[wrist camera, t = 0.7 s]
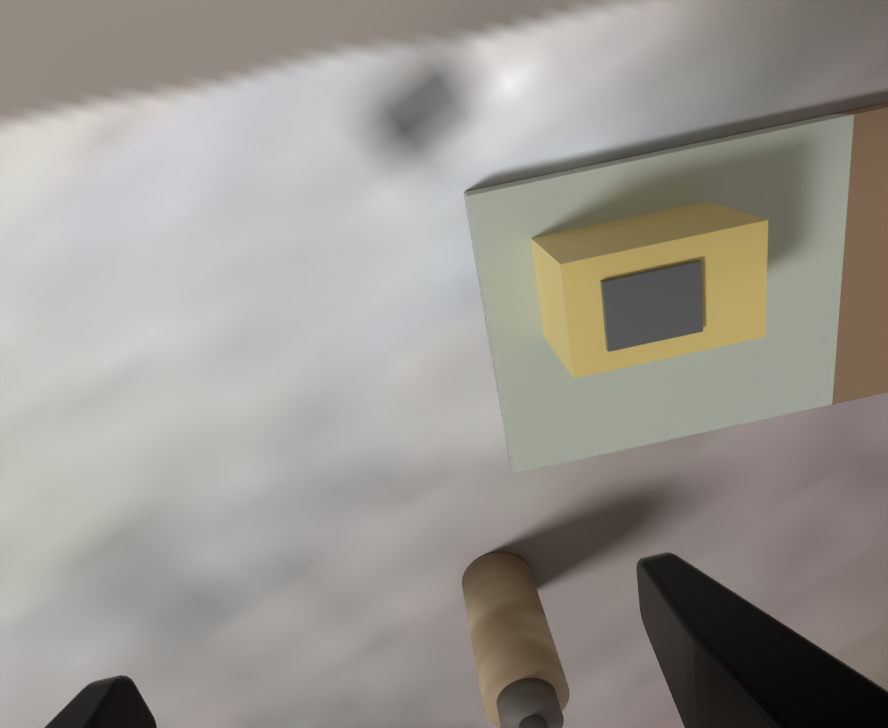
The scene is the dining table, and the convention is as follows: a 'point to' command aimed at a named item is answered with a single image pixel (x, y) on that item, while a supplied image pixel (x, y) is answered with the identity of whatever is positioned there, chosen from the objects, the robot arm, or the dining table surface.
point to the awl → (513, 645)
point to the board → (718, 369)
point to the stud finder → (652, 286)
